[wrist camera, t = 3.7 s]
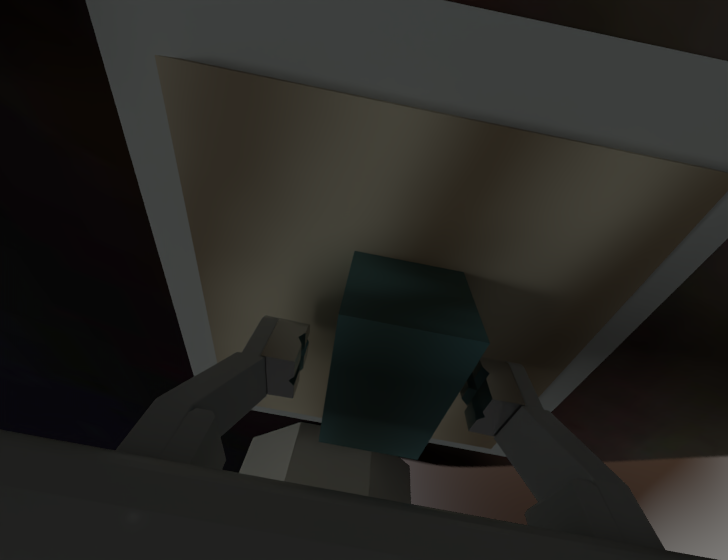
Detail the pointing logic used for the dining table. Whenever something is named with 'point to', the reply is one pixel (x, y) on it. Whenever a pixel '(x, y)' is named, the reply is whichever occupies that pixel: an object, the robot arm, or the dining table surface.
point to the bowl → (326, 464)
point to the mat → (427, 91)
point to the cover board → (410, 243)
